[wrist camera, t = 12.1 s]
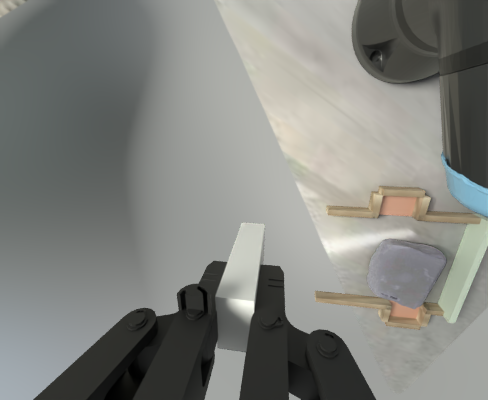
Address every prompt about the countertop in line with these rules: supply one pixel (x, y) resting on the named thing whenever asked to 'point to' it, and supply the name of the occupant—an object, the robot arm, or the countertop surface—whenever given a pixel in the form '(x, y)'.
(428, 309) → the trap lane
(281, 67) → the countertop surface
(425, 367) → the countertop surface
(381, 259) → the stone block
